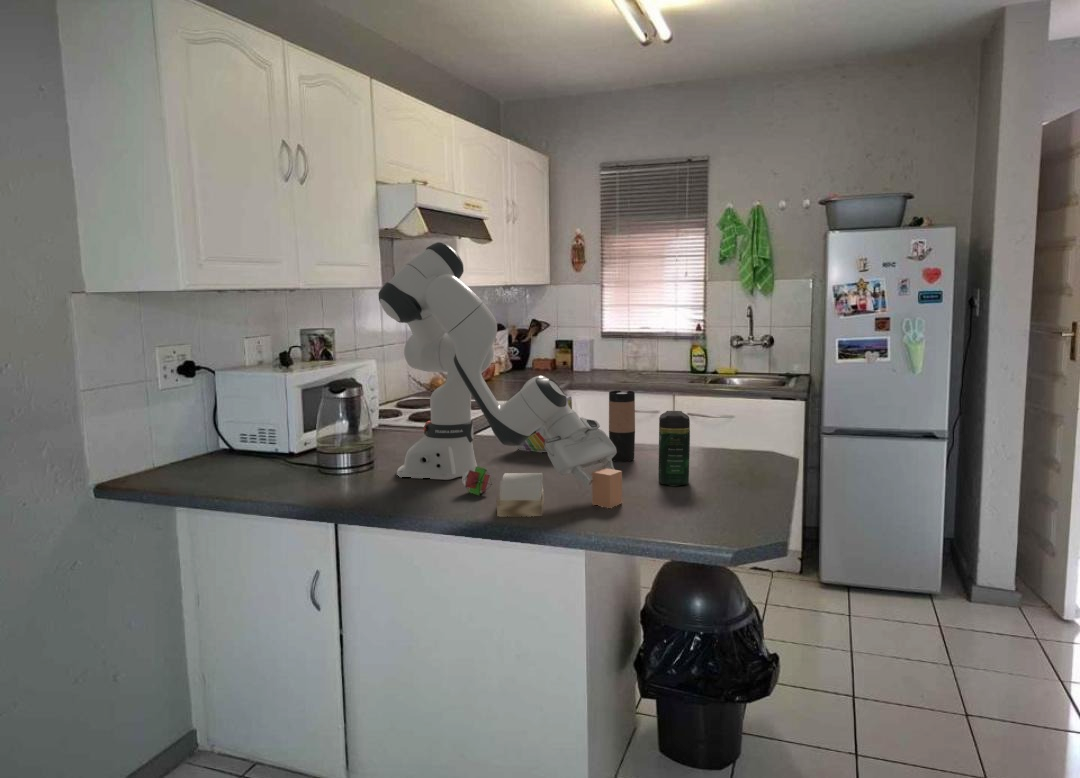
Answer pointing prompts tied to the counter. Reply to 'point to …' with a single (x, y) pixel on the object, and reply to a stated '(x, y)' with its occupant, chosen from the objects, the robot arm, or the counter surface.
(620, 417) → the travel mug
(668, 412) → the coffee jar
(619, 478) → the pillar
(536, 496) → the tower top
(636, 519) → the counter surface
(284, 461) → the counter surface
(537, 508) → the tower base
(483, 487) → the geometric puzzle
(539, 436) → the cake pan box
